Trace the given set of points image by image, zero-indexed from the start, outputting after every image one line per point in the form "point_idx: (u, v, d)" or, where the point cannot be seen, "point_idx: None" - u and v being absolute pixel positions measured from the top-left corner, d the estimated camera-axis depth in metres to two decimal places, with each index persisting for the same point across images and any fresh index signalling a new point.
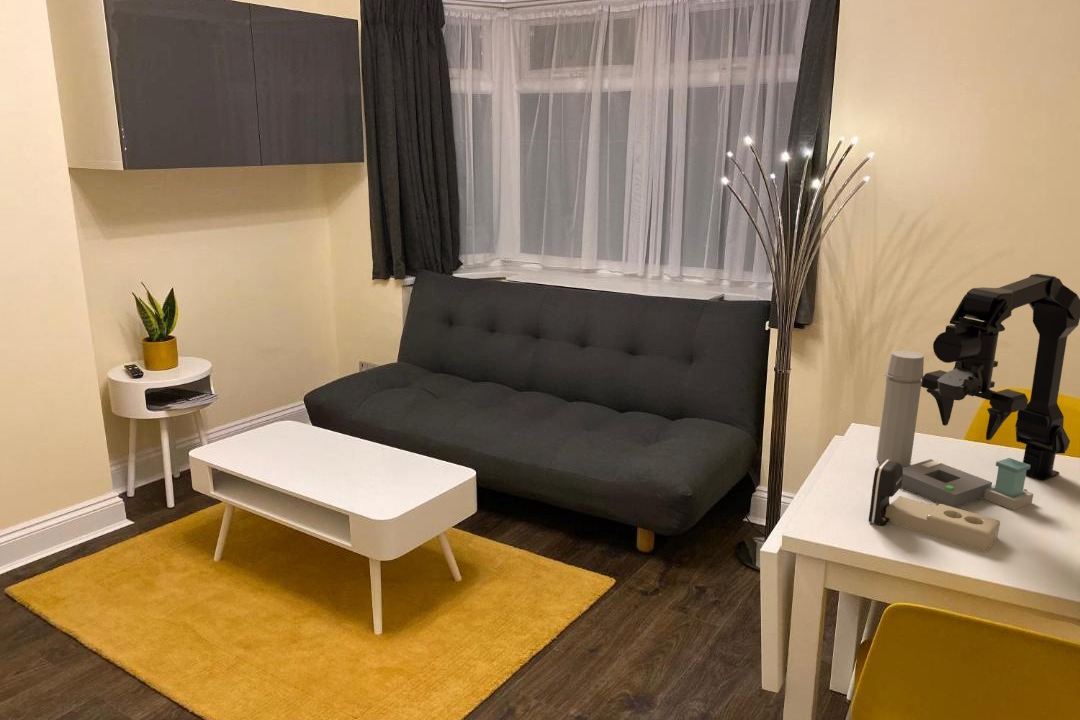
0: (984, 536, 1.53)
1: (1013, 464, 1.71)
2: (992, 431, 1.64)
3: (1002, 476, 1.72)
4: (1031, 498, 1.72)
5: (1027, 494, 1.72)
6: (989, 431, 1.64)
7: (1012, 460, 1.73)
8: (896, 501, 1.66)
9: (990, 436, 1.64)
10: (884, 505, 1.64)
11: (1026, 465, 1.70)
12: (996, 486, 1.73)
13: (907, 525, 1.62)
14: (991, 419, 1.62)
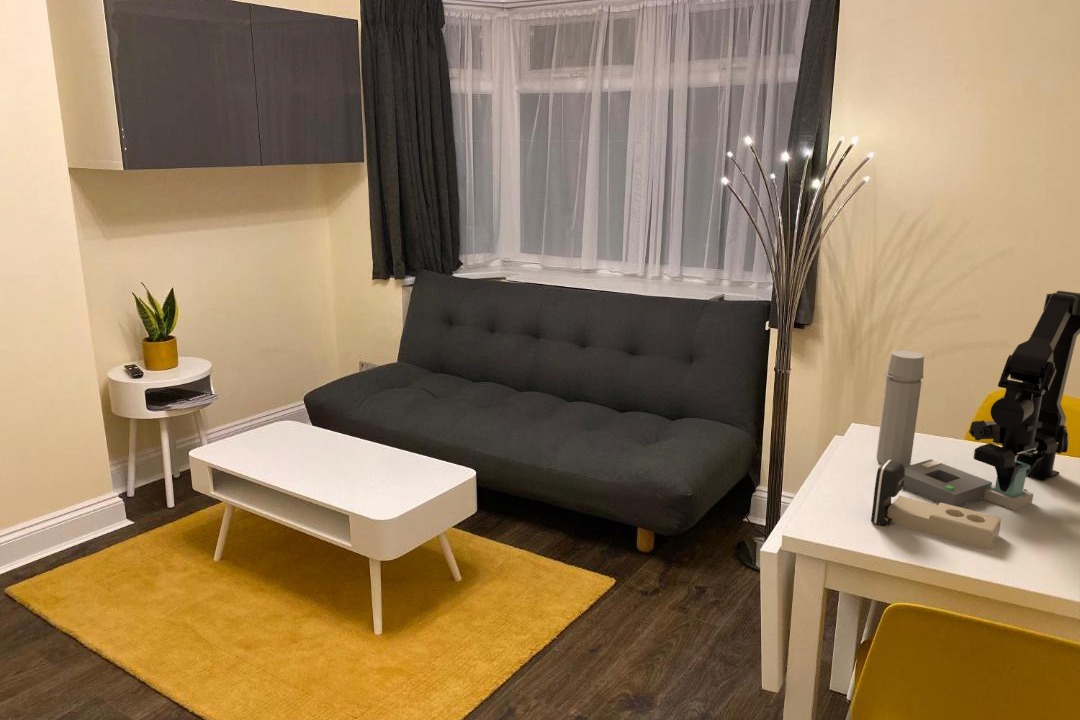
0: (988, 534, 1.53)
1: None
2: (1000, 482, 1.71)
3: None
4: (1031, 498, 1.72)
5: (1027, 494, 1.72)
6: None
7: None
8: (897, 501, 1.66)
9: (1001, 487, 1.72)
10: (886, 505, 1.64)
11: (1026, 465, 1.70)
12: (996, 486, 1.73)
13: (909, 525, 1.62)
14: None
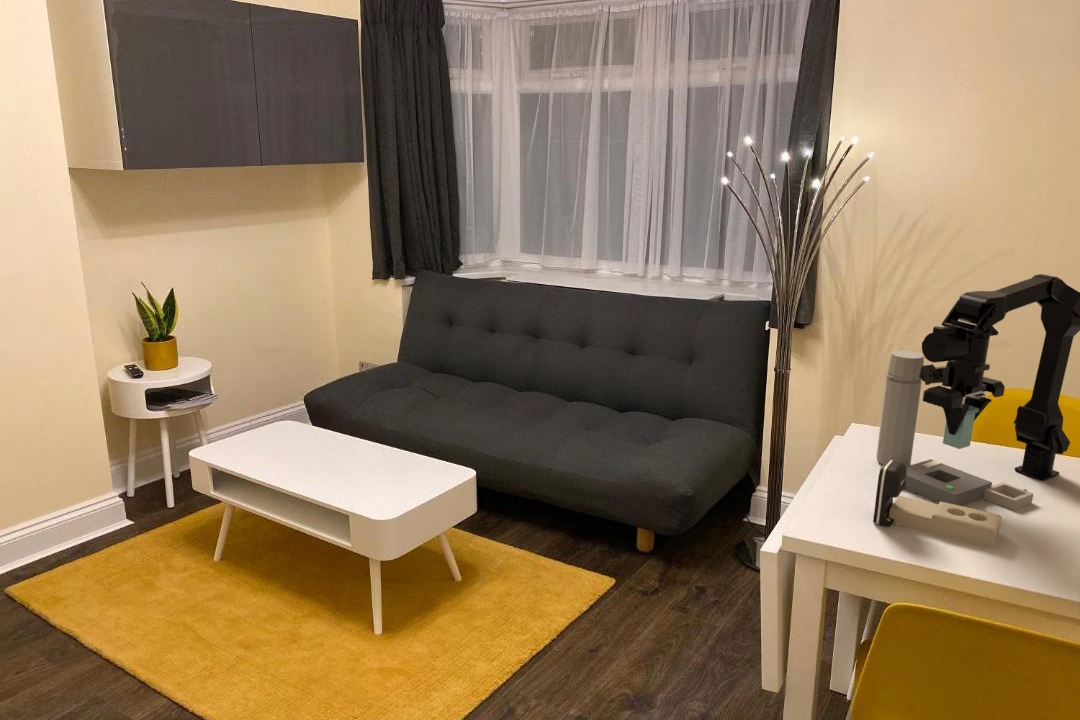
0: (991, 532, 1.54)
1: None
2: (949, 425, 1.72)
3: None
4: (1031, 498, 1.72)
5: (1027, 494, 1.72)
6: None
7: None
8: (897, 501, 1.66)
9: (950, 430, 1.72)
10: (888, 506, 1.64)
11: (975, 408, 1.71)
12: (945, 430, 1.74)
13: (912, 525, 1.62)
14: None
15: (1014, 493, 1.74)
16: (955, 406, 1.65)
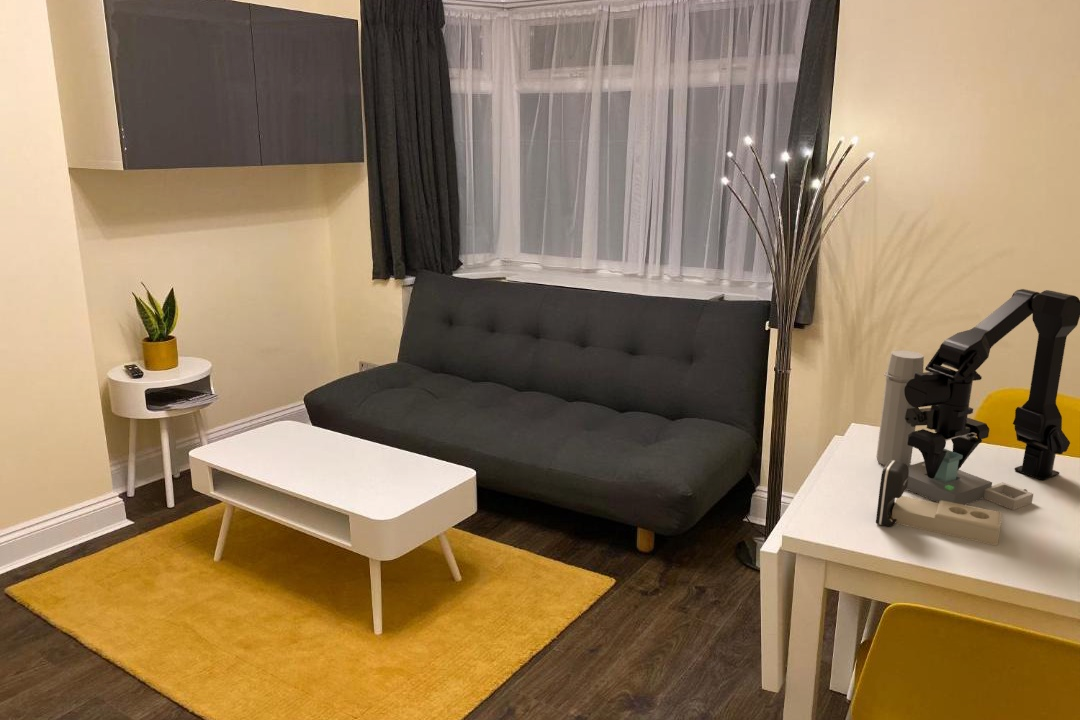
0: (995, 530, 1.55)
1: (946, 454, 1.75)
2: (927, 469, 1.75)
3: None
4: (1031, 498, 1.72)
5: (1027, 494, 1.72)
6: None
7: (945, 450, 1.78)
8: (898, 501, 1.66)
9: (928, 473, 1.75)
10: (890, 506, 1.64)
11: (958, 455, 1.75)
12: None
13: (915, 525, 1.62)
14: None
15: (1014, 493, 1.74)
16: (938, 450, 1.69)
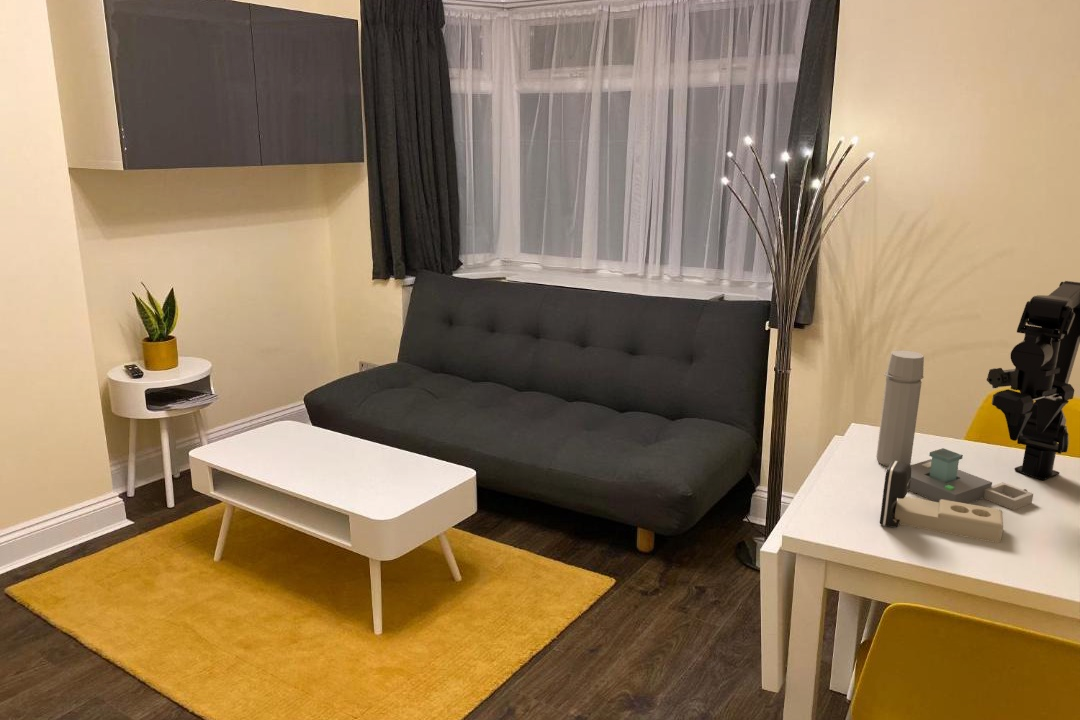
0: (998, 528, 1.56)
1: (946, 454, 1.75)
2: (1010, 431, 1.70)
3: (935, 465, 1.76)
4: (1031, 498, 1.72)
5: (1027, 494, 1.72)
6: None
7: (945, 450, 1.78)
8: (899, 501, 1.66)
9: (1011, 436, 1.71)
10: (894, 507, 1.64)
11: (958, 455, 1.75)
12: (930, 476, 1.78)
13: (918, 525, 1.62)
14: None
15: (1014, 493, 1.74)
16: (1026, 410, 1.65)
